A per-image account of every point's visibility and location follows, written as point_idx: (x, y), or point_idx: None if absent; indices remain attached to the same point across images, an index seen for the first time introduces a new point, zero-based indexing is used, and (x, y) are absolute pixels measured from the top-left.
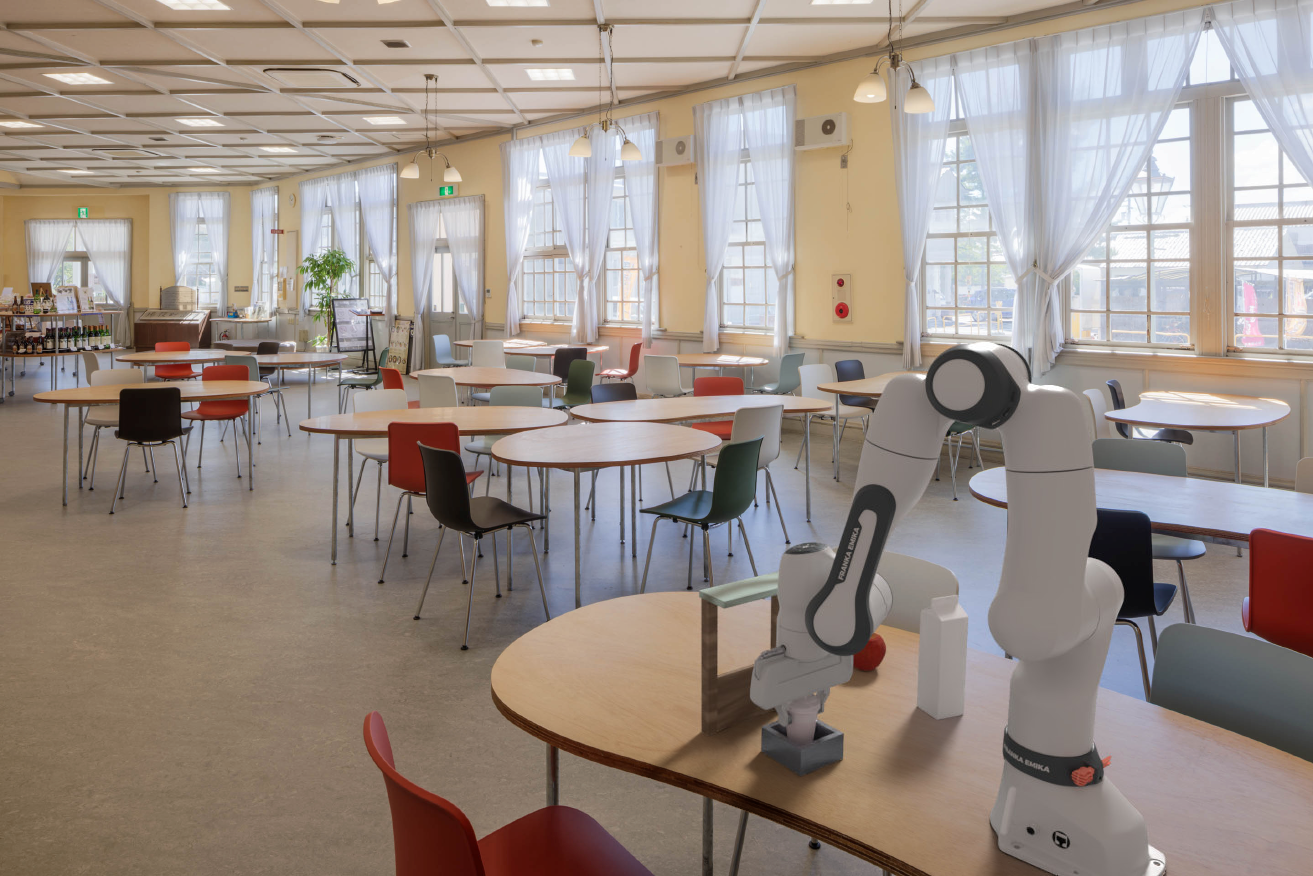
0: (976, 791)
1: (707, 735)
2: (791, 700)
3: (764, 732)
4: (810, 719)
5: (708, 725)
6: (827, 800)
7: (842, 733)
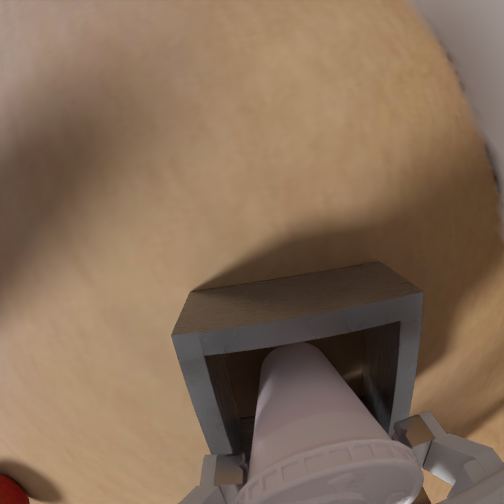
0: (10, 25)
1: None
2: (486, 483)
3: None
4: (334, 422)
5: None
6: (386, 116)
7: (177, 336)
